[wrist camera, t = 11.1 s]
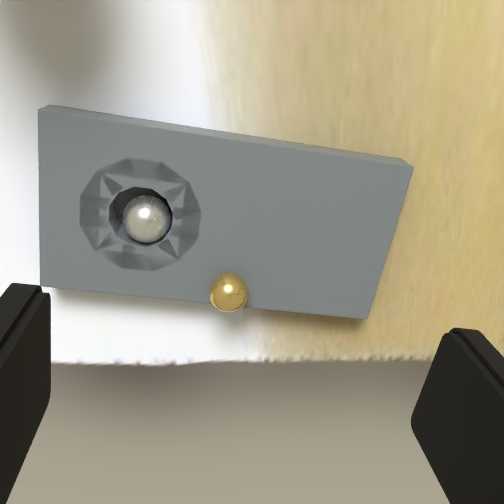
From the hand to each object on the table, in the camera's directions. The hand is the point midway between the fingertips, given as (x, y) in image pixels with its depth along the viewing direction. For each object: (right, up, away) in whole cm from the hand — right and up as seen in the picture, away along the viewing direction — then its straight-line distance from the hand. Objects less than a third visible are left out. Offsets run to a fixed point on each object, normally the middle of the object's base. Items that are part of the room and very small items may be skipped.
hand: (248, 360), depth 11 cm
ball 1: (-8, +5, +24) cm, 26 cm away
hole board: (-2, +5, +26) cm, 27 cm away
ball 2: (-2, -1, +25) cm, 25 cm away
